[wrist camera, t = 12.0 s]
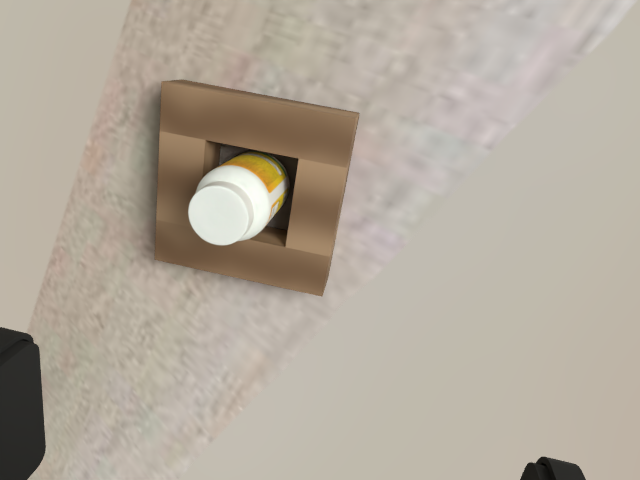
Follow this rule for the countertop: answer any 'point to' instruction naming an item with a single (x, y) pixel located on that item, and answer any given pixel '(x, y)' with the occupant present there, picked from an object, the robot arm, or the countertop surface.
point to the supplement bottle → (238, 198)
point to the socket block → (263, 135)
